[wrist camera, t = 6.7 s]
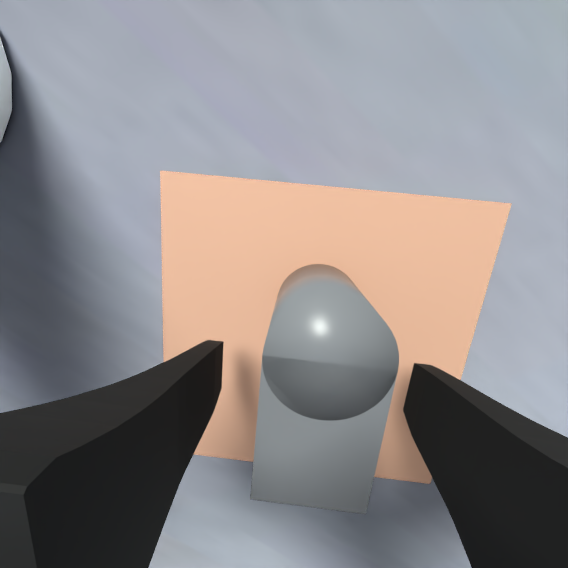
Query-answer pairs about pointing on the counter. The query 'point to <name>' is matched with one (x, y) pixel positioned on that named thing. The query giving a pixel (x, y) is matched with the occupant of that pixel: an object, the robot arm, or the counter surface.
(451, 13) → the counter surface
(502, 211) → the plate
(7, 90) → the bottle
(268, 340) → the plug
